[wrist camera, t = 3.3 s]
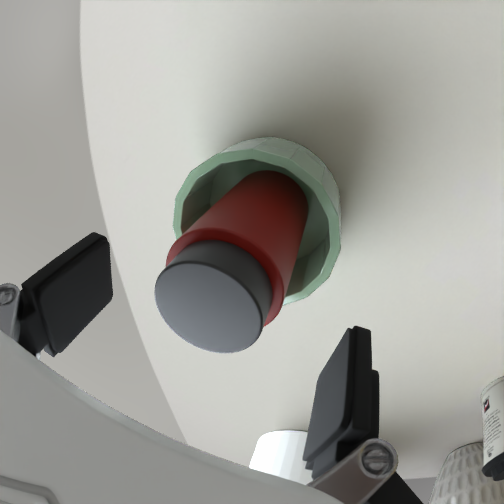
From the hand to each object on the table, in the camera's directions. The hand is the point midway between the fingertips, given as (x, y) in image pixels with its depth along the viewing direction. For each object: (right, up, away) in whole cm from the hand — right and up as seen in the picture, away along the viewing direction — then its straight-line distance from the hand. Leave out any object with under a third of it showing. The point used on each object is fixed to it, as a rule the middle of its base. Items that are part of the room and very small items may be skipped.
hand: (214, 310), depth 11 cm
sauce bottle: (+2, +5, +8) cm, 10 cm away
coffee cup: (+27, -12, +10) cm, 31 cm away
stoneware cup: (+2, +5, +8) cm, 10 cm away
